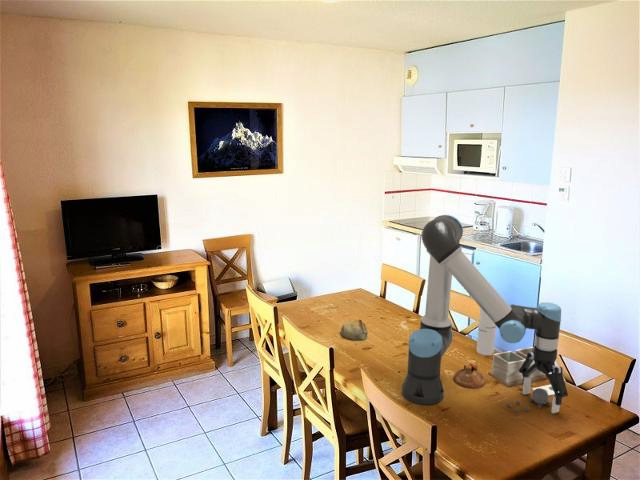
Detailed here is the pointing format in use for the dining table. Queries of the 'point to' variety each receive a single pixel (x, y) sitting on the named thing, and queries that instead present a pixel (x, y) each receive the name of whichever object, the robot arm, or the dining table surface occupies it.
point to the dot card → (547, 389)
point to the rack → (512, 367)
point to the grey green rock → (354, 330)
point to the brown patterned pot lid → (469, 376)
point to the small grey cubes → (526, 407)
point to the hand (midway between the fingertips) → (540, 402)
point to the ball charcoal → (540, 396)
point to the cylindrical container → (485, 334)
